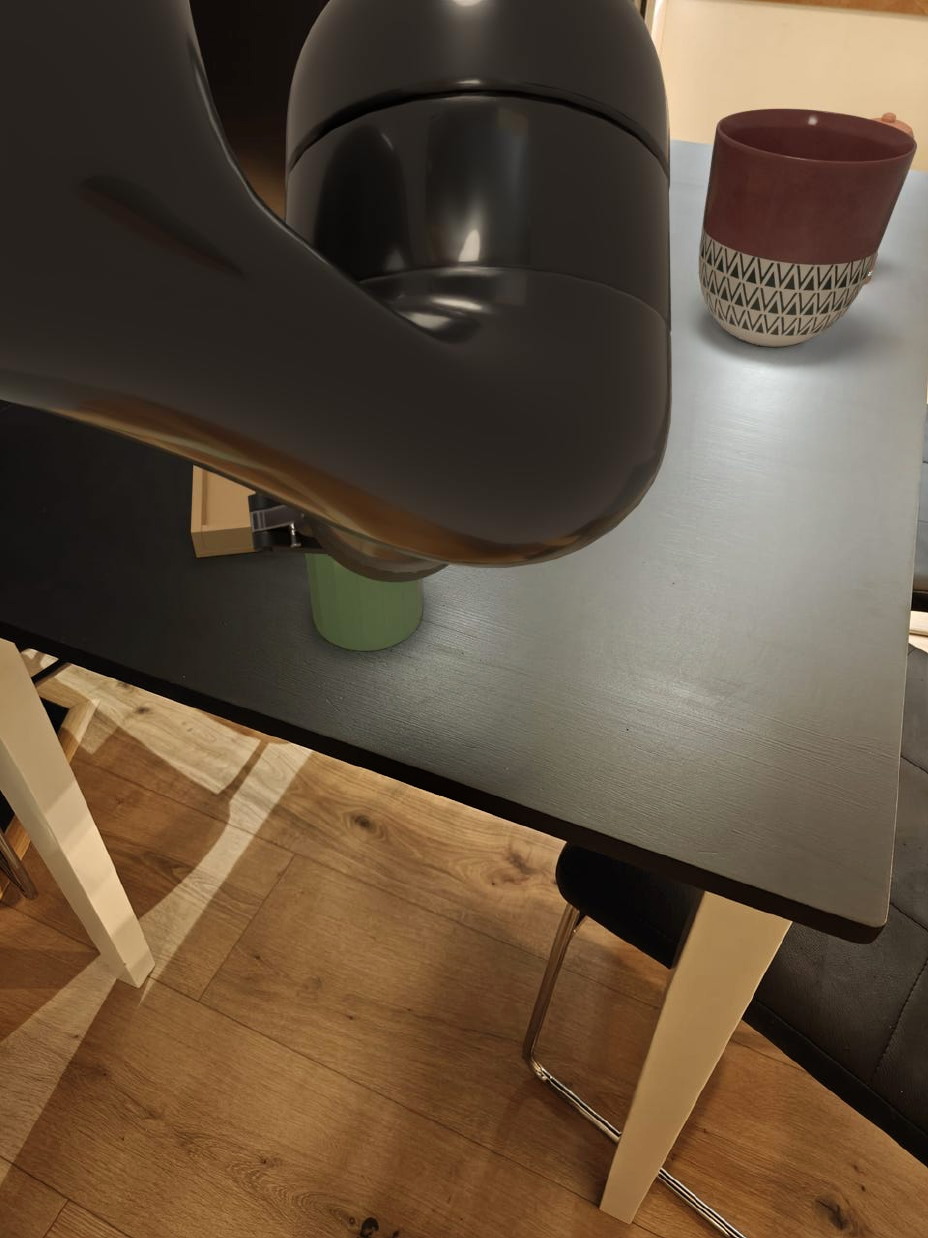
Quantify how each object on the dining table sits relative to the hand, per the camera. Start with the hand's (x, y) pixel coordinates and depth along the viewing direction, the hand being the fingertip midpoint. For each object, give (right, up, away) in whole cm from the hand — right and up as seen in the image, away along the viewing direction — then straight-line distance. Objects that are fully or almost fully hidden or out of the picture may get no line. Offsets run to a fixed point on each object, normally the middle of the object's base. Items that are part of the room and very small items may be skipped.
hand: (376, 537), depth 50 cm
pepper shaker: (+55, +41, +69) cm, 97 cm away
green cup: (-2, -4, +18) cm, 19 cm away
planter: (+40, +28, +55) cm, 74 cm away
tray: (-10, +12, +36) cm, 40 cm away
